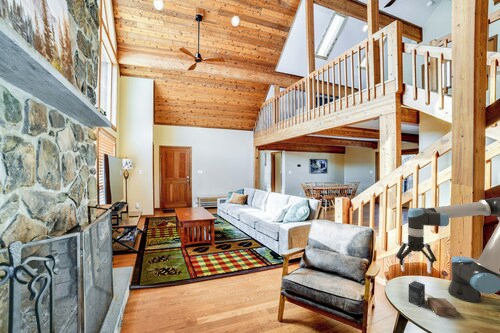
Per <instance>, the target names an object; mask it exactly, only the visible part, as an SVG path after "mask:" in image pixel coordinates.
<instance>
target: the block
mask: <svg viewBox="0 0 500 333" xmlns="http://www.w3.org/2000/svg"><path fill="white" fill-rule="evenodd" d="M426 303H427V307H428V308H429V309H430V310H431V311H432V312H433V311H434V312H433V313H434V314H435V315H436V316H437V315H439V316H438V317H451V318H457V307H455V306H454V305H453V304H452V303H451V302H450V301H449V300H448V299H447V298H443V297H442V298H441V297H440V298H439V297H434V298H429V297H427V302H426Z"/></svg>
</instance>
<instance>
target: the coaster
mask: <svg viewBox="0 0 500 333" xmlns="http://www.w3.org/2000/svg"><path fill="white" fill-rule="evenodd" d="M427 297H429V298H435V297H434V296H432V295H431V294H428V293H425V303H427Z"/></svg>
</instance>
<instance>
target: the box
mask: <svg viewBox="0 0 500 333" xmlns="http://www.w3.org/2000/svg"><path fill="white" fill-rule="evenodd" d="M425 294H426V285H425V284H424V283H422V282H419V281H416V280H413V281H412V282H410V283H408V303H410V304H413V305H415V306H417V307H420V306H421V305H423V304H425V303H426V301H425Z"/></svg>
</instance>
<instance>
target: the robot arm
mask: <svg viewBox="0 0 500 333" xmlns="http://www.w3.org/2000/svg"><path fill="white" fill-rule="evenodd" d="M473 216H474V217H475V216H485V217H489V216H496V218H497V220H498V224H497V226H496V227H495V229H494V230H493V232H492V234H491V237H490V238H489V239H488V241H487V243H486V245H485V247H484V249H483V251H482V252H481V254H480V255H479V258H478V259H476V258H472V257H467V256H460V255H458V256H456V255H455V256H452V257H451V261H450V263H451V281H450V283H449V286H448V288H447V291H448V294H449V295H450V296H452V297H453V298H456V299H458V300H461V301H464V302H469V303H481V302H482V300H483V297H482V294H484V295H491V294H496V293H498V292H500V196H498V197H492V198H484V199H479V200H478V201H476V202H475V201H474V202H467V203H460V204H451V205H444V206H434V207H409V208H408V209H407V234H408V235H407V242H404V241H403V242H401V246H400V248H399V250H398V251H397V253H396V255H395V258H397V260H399V265H400V270H401V271H402V272H405V258H406V257H407V256H408V255H409V254H410V253H412V252H415V253H416V252H417V253H420V252H421V253H422V254H423V255H424V257H425V258H426V259H427V260H426V266H427V267H426V269H427V270H426V272H427V273H428V274H432V268H433V266H434V262H437V260H438V259H437V258H436V256H435V254H434V252H433V251H432V249H431V245H430V244H429V243H424V242H425V240H424V239H425V237H424V234H425V232H424V230H425V227H424V226H429V227H441V228H442V227H447V226H449V224H450V219H454V218H465V217H473ZM406 247H407V248H406ZM424 248H426V251H427V252H428V253H427V252H426V251H425V250H424ZM428 254H429V255H428Z"/></svg>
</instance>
